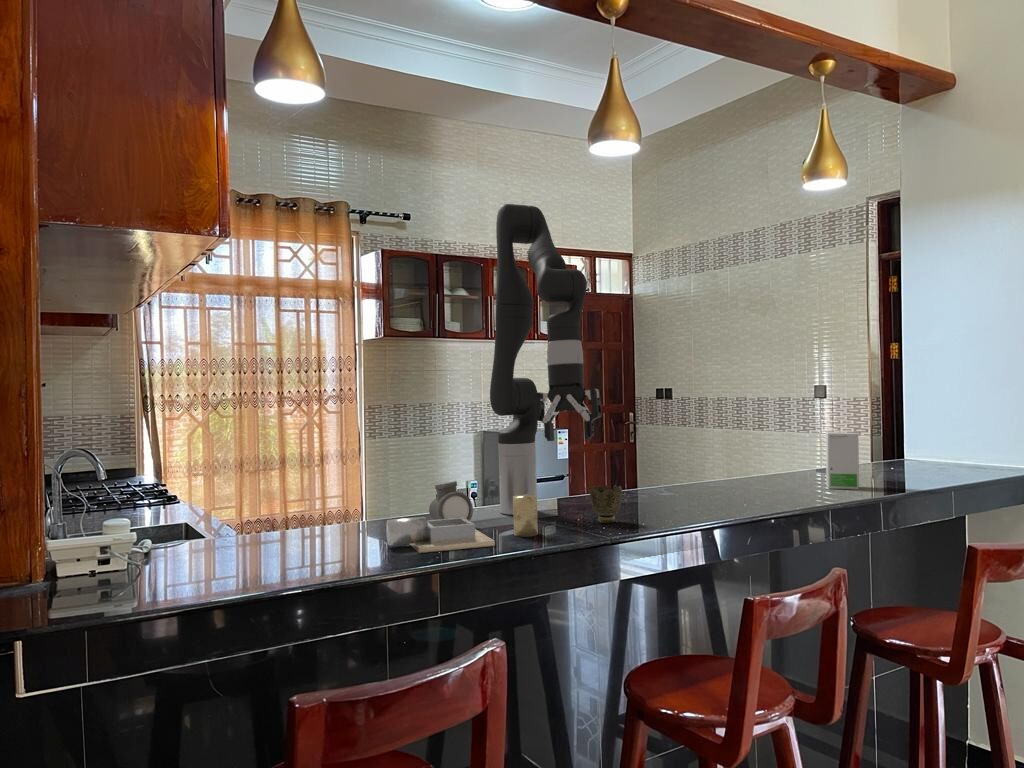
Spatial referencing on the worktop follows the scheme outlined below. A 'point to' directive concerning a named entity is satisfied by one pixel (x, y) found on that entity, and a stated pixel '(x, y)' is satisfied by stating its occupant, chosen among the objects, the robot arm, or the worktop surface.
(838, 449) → the skincare box
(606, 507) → the cup
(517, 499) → the brass cylinder plug
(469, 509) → the pipe fitting
